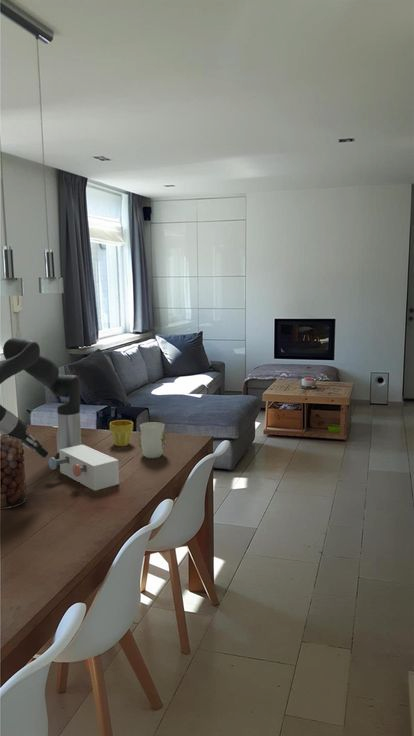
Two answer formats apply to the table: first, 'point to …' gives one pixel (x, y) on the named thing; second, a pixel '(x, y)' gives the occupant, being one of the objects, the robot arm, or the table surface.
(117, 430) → the plant pot
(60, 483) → the table surface
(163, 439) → the pitcher
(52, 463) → the blue key
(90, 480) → the key box
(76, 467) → the red key
